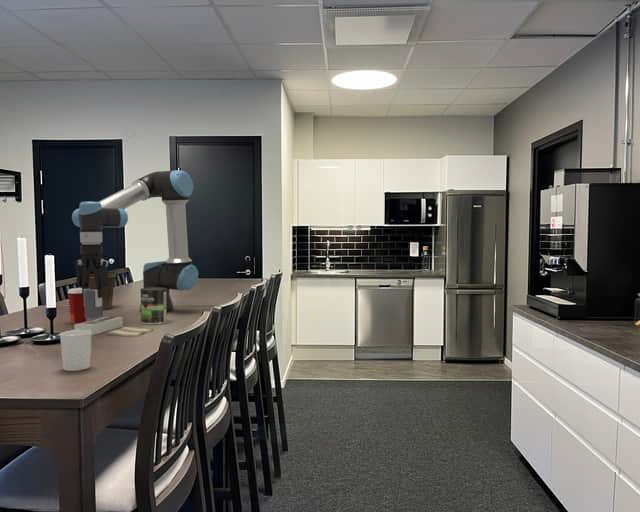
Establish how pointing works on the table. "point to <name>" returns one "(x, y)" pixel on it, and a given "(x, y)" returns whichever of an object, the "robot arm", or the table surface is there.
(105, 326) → the power strip
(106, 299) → the plant pot
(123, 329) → the birch pad
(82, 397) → the table surface
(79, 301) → the paper cup
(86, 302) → the block
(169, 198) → the robot arm
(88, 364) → the white cup
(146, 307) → the coffee can
